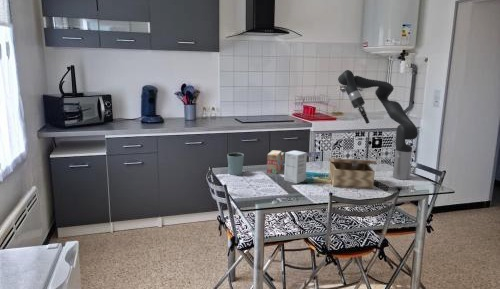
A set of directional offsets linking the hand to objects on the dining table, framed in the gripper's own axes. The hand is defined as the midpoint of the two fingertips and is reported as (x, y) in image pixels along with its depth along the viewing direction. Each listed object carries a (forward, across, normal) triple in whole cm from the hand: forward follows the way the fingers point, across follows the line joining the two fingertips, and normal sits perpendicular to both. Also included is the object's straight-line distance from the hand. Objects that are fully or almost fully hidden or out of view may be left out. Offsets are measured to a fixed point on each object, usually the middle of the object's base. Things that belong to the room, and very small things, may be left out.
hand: (368, 123), depth 240 cm
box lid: (+23, +23, -19) cm, 37 cm away
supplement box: (+19, +29, -52) cm, 62 cm away
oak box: (+31, +19, -24) cm, 44 cm away
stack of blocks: (+5, +13, -64) cm, 66 cm away
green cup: (+1, +33, -84) cm, 90 cm away
